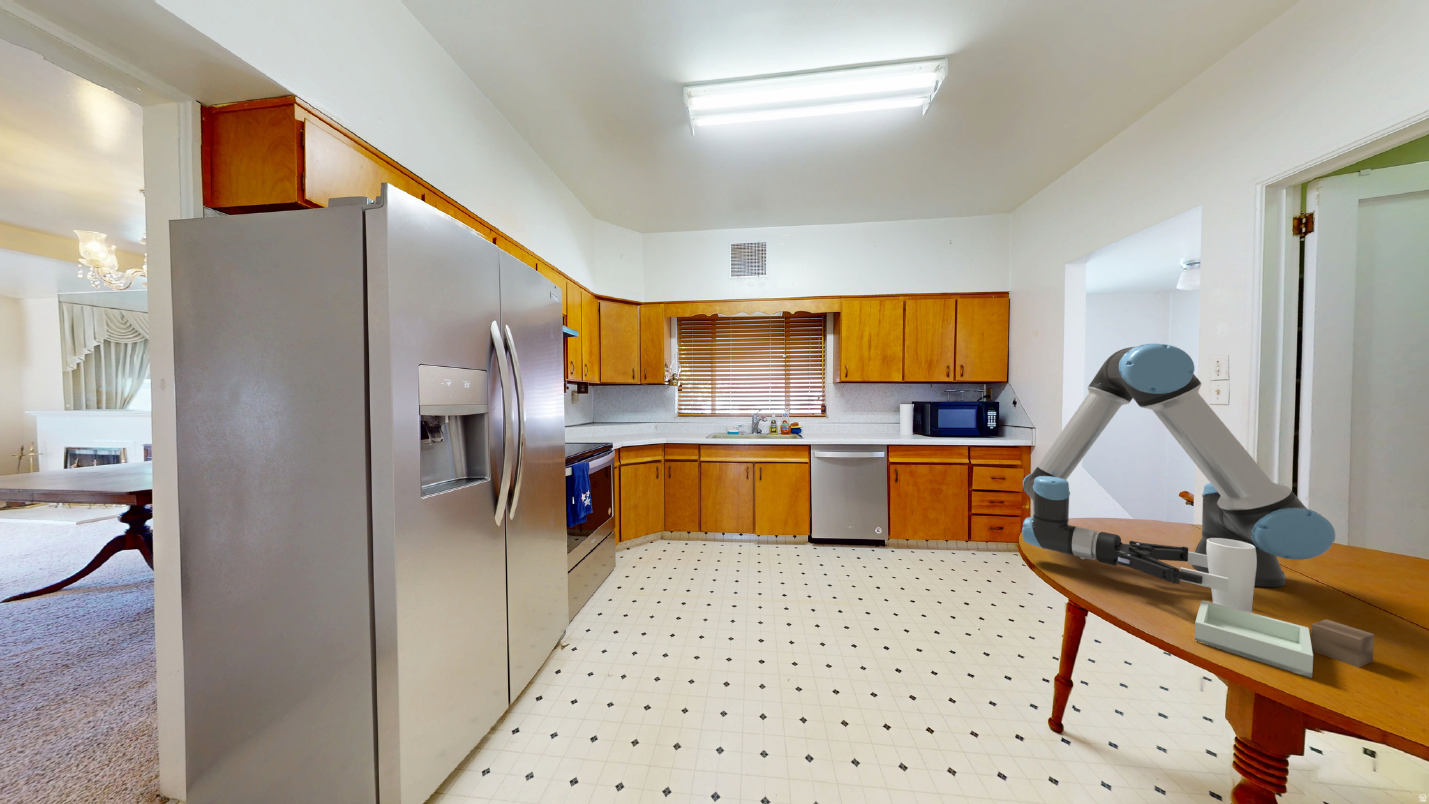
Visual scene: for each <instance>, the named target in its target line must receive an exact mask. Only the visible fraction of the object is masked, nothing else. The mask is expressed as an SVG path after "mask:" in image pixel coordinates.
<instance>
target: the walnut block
mask: <svg viewBox="0 0 1429 804" xmlns="http://www.w3.org/2000/svg"><path fill="white" fill-rule="evenodd" d="M1374 637H1375V634H1374V633H1371V632H1368V631H1366V630H1362V629H1358V628H1356V627H1352V626H1349V625H1346V624H1342V623H1340V622H1336V621H1333V620H1329V619H1326V618H1325V619H1323V620H1320V621H1317V622H1315V623H1312V624H1311V636H1310V639H1311V646H1312V652H1313V653H1317V654H1319V655H1323V656H1325V657H1329V658H1331V659H1333V660H1335V661H1336V660H1337V661H1339V662H1342V663H1345V664H1347V665H1351V666H1352V667H1357V668H1358V669H1359V668H1360V667H1364V666H1366V665H1368V664H1371V663H1372V662H1373V661H1374V645H1375V643H1374V639H1375V638H1374Z"/></svg>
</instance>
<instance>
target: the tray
mask: <svg viewBox="0 0 1429 804" xmlns="http://www.w3.org/2000/svg"><path fill="white" fill-rule="evenodd" d="M1195 640H1197V641H1199V642H1203V643H1204V644H1203V645H1205V644H1206V645H1205V646H1208V645H1210V646H1209V647H1211V646H1212V647H1211V648H1214V647H1216V648H1215V649H1217V648H1218V650H1220V649H1222V650H1221V651H1223V652H1227V653H1230V654H1234V655H1237V656H1240V657H1243V658H1247V659H1249V660H1253V661H1256V662H1259V663H1263V664H1266V665H1268V666H1272V667H1276V668H1278V669H1282V670H1285V671H1288V672H1291V673H1293V674H1294V673H1295V674H1298V675H1301V676H1304V677H1307V678H1309V679H1313V670H1314V669H1313V667H1314V651H1312V646H1311V633H1310V628H1309V627H1307V626H1305V625H1299V624H1295V623H1292V622H1287V621H1286V620H1285V621H1283V620H1280V619H1276V618H1274V617H1273V618H1272V617H1270V616H1264V615H1260V614H1258V613H1253V612H1252V613H1250V612H1246V611H1242V610H1238V609H1234V608H1231V607H1227V606H1223V605H1219V604H1215V603H1213V602H1211V601H1206V600H1204V599H1203V600H1202V599H1201V601H1200V604H1199V608H1198V611H1197V615H1196V619H1195V622H1194V641H1195Z"/></svg>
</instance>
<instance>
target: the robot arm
mask: <svg viewBox="0 0 1429 804" xmlns="http://www.w3.org/2000/svg"><path fill="white" fill-rule="evenodd" d="M1194 373H1195V364H1194V361H1193V359H1192V357H1191V356H1190V355H1189V354H1188V353H1187V352H1186V351H1184V350H1183V349H1181V348H1179V347H1177V346H1174V345H1171V344H1165V343H1145V344H1141V345H1138V346H1132V347H1131V346H1130V347H1125V348H1122V349H1119V350H1117V351H1116V352H1114V353H1112V354H1111V355H1110V356H1109V357H1107V359H1106V360H1105V361H1104V362H1103V364H1102V365H1101V367H1100V368H1099V369H1098V371H1097V373H1096V374H1095V376H1093V377H1094V378H1093V379H1092V381H1091V382H1090V383H1089V385H1088V386H1087V391H1088V394H1087V395H1086V397H1085V398H1084V400H1083V401H1082V402H1081V403H1080V405H1079V406H1078V407H1077V410H1076V411H1075V412H1074V413H1073V415H1072V417H1071V418H1070V419H1069V421H1068V422H1067V424H1066V425H1065V426H1064V428H1063V429H1062V430H1061V432H1060V433H1059V434H1058V436H1057V438H1056V439H1055V441H1054V442H1053V444H1052V445H1051V446H1050V448H1049V449H1048V450H1047V452H1046V453H1045V455H1044V456H1043V457H1042V459H1041V460H1040V462H1039V463H1038V465H1037V466H1036V468H1035V469H1034V470H1033V471H1032V473H1028V475H1026V476H1025V477H1023V480H1022V487H1023V490H1024V492H1025V494H1026V495H1027V496H1028V497H1029V498H1030V499H1031V500H1032V502H1033V514H1032V517H1030V516H1029V517H1026V518H1025V519H1024V520H1023V522H1022V523H1023V524H1022V529H1021V535H1022V540H1023V541H1024V542H1025V543H1027V544H1028V545H1030V546H1035V547H1036V548H1037V547H1038V548H1041V549H1044V550H1048V551H1053V552H1058V553H1062V554H1067V555H1070V556H1076V557H1079V558H1080V559H1081V560H1084V561H1085V559H1086V560H1091V561H1094V560H1097V561H1098V563H1103V564H1107V565H1111V566H1118V565H1120V566H1123V567H1127V568H1130V569H1134V570H1136V571H1138V572H1141V573H1144V574H1147V575H1150V576H1153V577H1155V578H1159V579H1161V580H1163V581H1167V582H1168V583H1172V584H1175V585H1179V584H1180V581H1181V582H1184V583H1189V584H1192V585H1193V584H1194V585H1196V586H1202V587H1205V588H1210V589H1211V588H1213V589H1217V590H1221V591H1225V592H1228V578H1226V577H1222V576H1217V575H1213V574H1209V571H1208V564H1207V555H1206V545H1207V539H1209V538H1223V539H1231V540H1237V541H1241V542H1245V543H1249V544H1251V545H1253V546H1255V547H1256V558H1257V567H1256V577H1255V585H1254V587H1255V586H1256V587H1261V588H1263V587H1265V588H1282V587H1284V586H1285V585H1286V575H1285V572H1284V571H1283V570H1282V567H1281V565H1280V560H1279V559H1278V558H1282V559H1286V560H1294V561H1296V560H1297V561H1299V560H1300V561H1301V560H1308V559H1313V558H1316V557H1319V556H1321V555H1323V554H1325V553H1327V552H1328V551H1329V550H1330V549H1331V547H1332V545H1333V543H1335V542H1336V541H1335V540H1336V531H1335V528H1334V526H1333V525H1332V523H1331V522H1330V521H1329V520H1328V519H1327V518H1326V517H1324V516H1323V515H1321V514H1320V513H1319V512H1317V511H1315V510H1312V509H1309V508H1307V506H1305V505H1304V503H1303V502H1302V501H1301V500H1300V499H1299V498H1298V496H1297V495H1296V494H1295V493H1294V492H1293V490H1292V489H1291V488H1290V487H1288V486H1287V485H1284V484H1280V483H1277V482H1273V481H1272V480H1271V479H1270V477H1269V476H1268V474H1266V472H1265V471H1264V470H1263V468H1262V467H1260V465H1259V464H1258V463H1257V462H1256V461H1255V459H1254V458H1253V457H1252V455H1250V453H1249V452H1248V450H1246V448H1245V447H1244V446H1243V445H1242V443H1241V442H1240V441H1239V440H1238V439H1237V437H1236V436H1235V435H1234V434H1233V433H1232V431H1231V430H1230V429H1229V428H1228V427H1227V425H1226V424H1225V423H1224V422H1223V421H1222V420H1221V418H1220V417H1219V416H1218V415H1217V414H1216V412H1215V411H1214V410H1213V408H1211V406H1210V405H1209V404H1208V403H1207V402H1206V400H1205V399H1204V398H1203V397H1202V395H1201V394H1200V393H1199V391H1200V389H1201V386H1202V384H1203V383H1202V382H1201V380H1199V378H1198V377H1197V376H1196V375H1195V374H1194ZM1132 400H1134V401H1135V402H1136V404H1137V405H1138V406H1139V408H1143V409H1148V410H1152V412H1153V413H1154V414H1155V416H1157V418H1158V419H1159V420H1160V421H1161V423H1162V424H1163V425H1164V426H1165V428H1166V429H1167V430H1168V432H1169V433H1170V434H1171V436H1172V437H1173V438H1174V439H1175V441H1176V442H1177V443H1178V444H1179V445H1180V446H1181V448H1182V449H1183V450H1184V452H1185V453H1186V454H1187V455H1188V456H1189V458H1190V459H1191V460H1192V462H1193V463H1194V464H1195V465H1196V467H1197V468H1198V469H1199V470H1200V472H1201V473H1202V474H1203V475H1204V477H1205V478H1206V479H1207V480H1208V482H1209V483H1206V484H1204V486H1203V493H1202V494H1201V496H1202V497H1201V498H1202V515H1201V516H1202V517H1201V519H1202V520H1201V524H1202V525H1201V539H1200V540H1199V542H1198V544H1197V546H1196V547H1195V549H1194V551H1189V547H1186V546H1174V545H1164V544H1156V543H1146V542H1140V541H1139V542H1138V541H1135V540H1129V541H1128V544H1127V543H1123V542H1122V538H1121V536H1120V535H1119V534H1116V533H1110V532H1107V531H1101V532H1098V531H1097V530H1096V529H1090V528H1085V527H1081V526H1075V525H1070V524H1069V521H1070V520H1069V518H1070V517H1069V513H1070V495H1071V491H1070V484H1069V481H1068V479H1069V477H1070V476H1071V475H1072V473H1073V471H1074V470H1075V469H1076V468H1077V466H1078V465H1079V464H1080V462H1081V461H1082V459H1083V458H1084V457H1085V456H1086V454H1087V453H1088V452H1089V450H1090V449H1091V448H1092V447H1093V445H1094V443H1095V442H1096V441H1097V439H1098V438H1099V437H1100V435H1101V434H1102V433H1103V431H1104V430H1105V429H1106V427H1107V426H1108V424H1109V423H1110V422H1111V420H1112V419H1113V418H1114V416H1115V415H1116V414H1117V412H1118V411H1119V409H1121V407H1122V406H1124V405H1129V404H1130V403H1131V401H1132ZM1163 561H1170V562H1171V561H1173V562H1174V561H1175V562H1187V564H1188V565H1191V566H1192V568H1194V569H1190V568H1185V567H1180V568H1178V567H1175V566H1173V565H1171V564H1168V563H1167V562H1163ZM1195 569H1196V570H1195Z"/></svg>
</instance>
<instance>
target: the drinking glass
mask: <svg viewBox="0 0 1429 804" xmlns="http://www.w3.org/2000/svg"><path fill="white" fill-rule="evenodd" d="M1206 555H1207V564H1208V571H1209V574H1213V575H1217V576H1222V577H1226V578H1228V592H1225V591H1221V590H1217V589H1213V588H1210V590H1211V598H1212V603H1215V604H1219V605H1223V606H1227V607H1231V608H1234V609H1238V610H1242V611H1246V612H1250V613H1253V602H1254V601H1253V600H1254V592H1255V586H1254V585H1255V577H1256V567H1257V558H1256V547H1255V546H1253V545H1251V544H1249V543H1245V542H1241V541H1237V540H1231V539H1223V538H1209V539H1207V545H1206Z"/></svg>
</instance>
